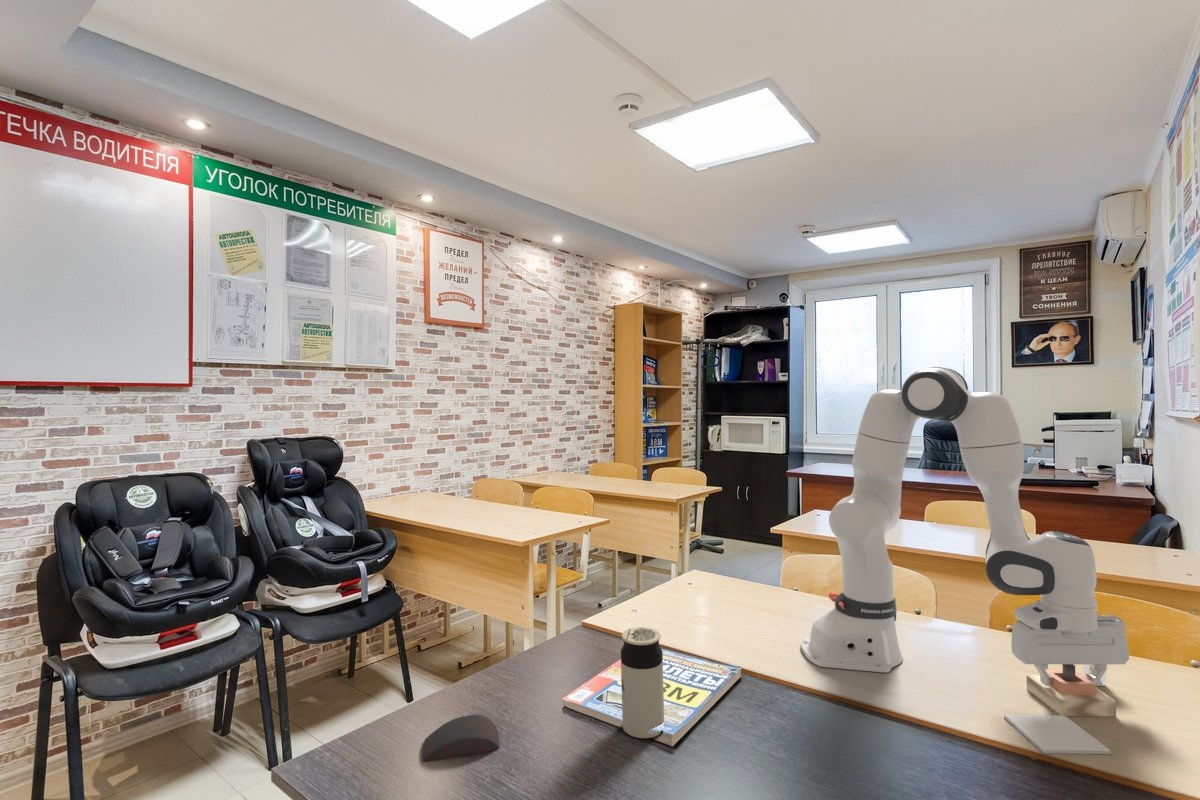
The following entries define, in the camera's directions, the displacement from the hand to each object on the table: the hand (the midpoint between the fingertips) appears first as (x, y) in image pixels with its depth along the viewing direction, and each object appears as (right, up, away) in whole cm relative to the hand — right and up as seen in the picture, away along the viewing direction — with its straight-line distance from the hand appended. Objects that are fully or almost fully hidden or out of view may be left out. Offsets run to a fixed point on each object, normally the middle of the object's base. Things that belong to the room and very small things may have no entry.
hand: (1070, 684), depth 117 cm
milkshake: (+12, -4, +7) cm, 14 cm away
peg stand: (0, -4, 0) cm, 4 cm away
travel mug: (-86, -6, -5) cm, 86 cm away
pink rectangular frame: (0, -1, 0) cm, 1 cm away
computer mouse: (-119, -8, -9) cm, 120 cm away
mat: (-11, -4, -11) cm, 16 cm away
